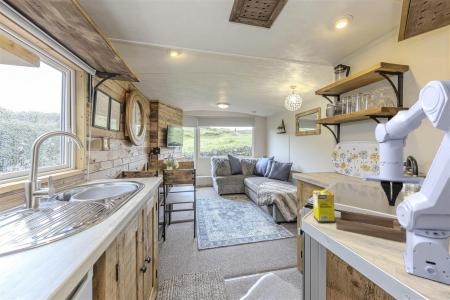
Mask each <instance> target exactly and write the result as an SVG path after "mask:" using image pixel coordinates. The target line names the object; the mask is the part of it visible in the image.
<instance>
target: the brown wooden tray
mask: <svg viewBox="0 0 450 300" xmlns="http://www.w3.org/2000/svg"><path fill="white" fill-rule="evenodd" d="M335 223H336V230H339V231H345V232H349V233H354V234H359V235H363V236H369V237H374V238H377V239H381V240H386V241H387V240H388V241H393V242H395V243H396V242H397V243H402V230H401V224H400V223H399V221H398V218H394V217H393V218H392V217H387V216H379V215H373V214H367V213H361V212H360V213H359V212H355V211H349V210H348V211H347V210H340V219H338V218H337V219H336V220H335Z"/></svg>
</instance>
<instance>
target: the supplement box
mask: <svg viewBox="0 0 450 300" xmlns="http://www.w3.org/2000/svg"><path fill="white" fill-rule="evenodd" d="M312 200H313V202H312V203H313V204H312V205H313V218H314V219H315V221H316V222H317V224H334V223H336V220H335V194H334V193H332V192H331V191H329V190H313V191H312Z"/></svg>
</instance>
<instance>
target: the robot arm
mask: <svg viewBox="0 0 450 300" xmlns="http://www.w3.org/2000/svg"><path fill="white" fill-rule="evenodd" d="M427 118H428V119H429V121H430V123H431V125H432V126H433V127H434V128H435V129H438V130H441V131H443V132H444V135H443V136H444V137H443V139H442V141H441V143H440V146H439V147H438V150H437V152H436V154H435V155H434V158H433V161H432V163H431V164H430V165H431V166H430V168H429V170H428V172H427V174H426V177H425V178H424V177H423V176H422V177H421V176H410V175H405V173H404V172H405V171H404V170H405V169H404V148H405V147H406V145H407V139H408V137H409V134H410V133H412V132H414V131H416V129H418V128H420V127H421V125H422V123H423V122H422V121H423V120H425V119H427ZM374 136H375V139H376V142H378V147H379V148H378V150H379V152H378V153H379V158H378V159H379V161H378V162H379V174H377V173H376V174H371V173H370V174H369V173H367V174H365V173H364V174H362V181H363V182H367V181H368V182H379V183H380V186H381V188H382V190H383V191H384V194H385V196H386V199H387V202H388V206H390V207H395V206H396V202H397V201H396V200H397V199H398V196H399V194H400V193H401V191H402V190H403V188H404V184H411V185H420V186H421V187H420V189H419V191H417V192H415V193H412V194H409V195H407V196H405V197H404V198H403V201H402V202H400V203H399V204H397V207H396V210H395V211H396V212H395V213H396V219H398V221H399V223H400V226H402V228H404V229H405V230H406V231H405V234H406V235H405V240H406V241H405V242H406V244H405V246H406V247H405V248H406V251H403V252H402V253H403V259H404V267H405V271H406V274H411V275H414V276H417V277H421V278H426V279H428V280H432V281H436V282H440V283H443V284H447V285H450V79H442V80H439V79H436V80H435V79H434V80H431V81H429V82H428V83H426V85H424V87H423V88H421V89H420V92H419V95H418V100H416V102H415V103H414V104H413V105H412V106H411V107H410V108H409V109H407V110H398V112H397V114H396V115H395V116H393V117H391V119H389V120H388V121H387V122H386V123H378V124H377V125H376V127H375V129H374Z"/></svg>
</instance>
